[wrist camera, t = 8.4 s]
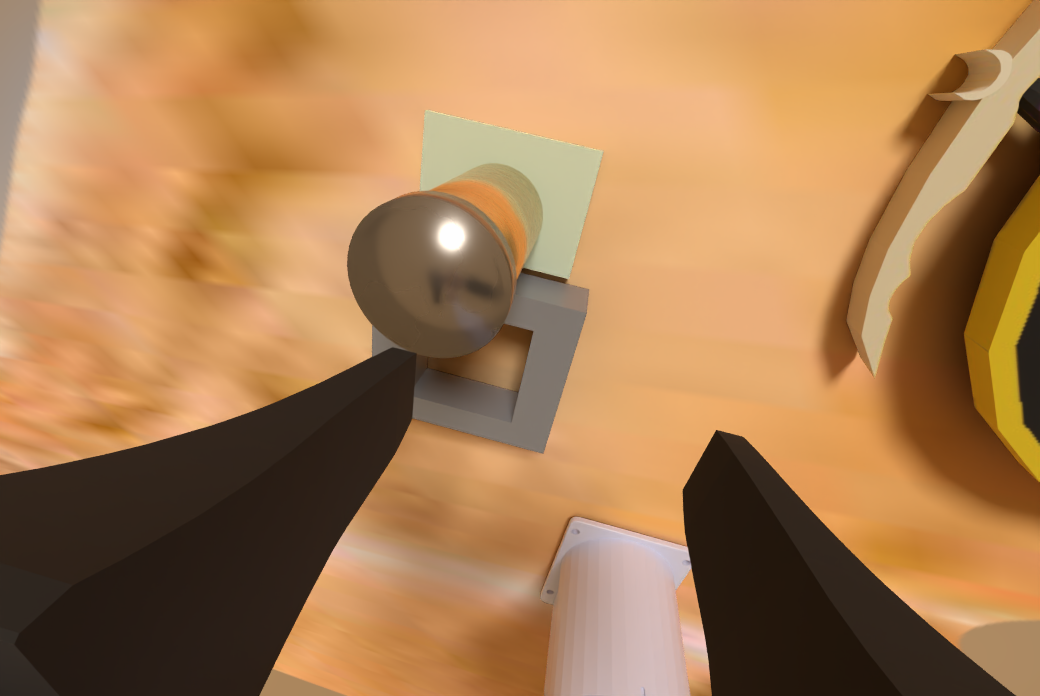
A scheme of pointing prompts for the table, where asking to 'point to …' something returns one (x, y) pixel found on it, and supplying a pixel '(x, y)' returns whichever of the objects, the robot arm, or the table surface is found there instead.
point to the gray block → (550, 355)
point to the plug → (446, 260)
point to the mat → (545, 162)
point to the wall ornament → (1014, 253)
